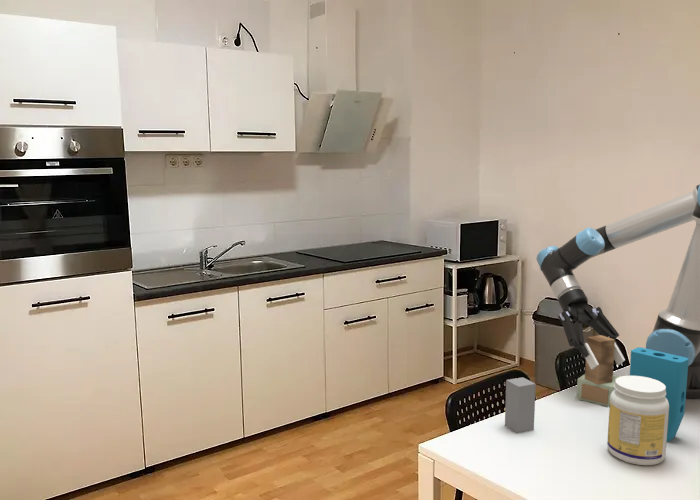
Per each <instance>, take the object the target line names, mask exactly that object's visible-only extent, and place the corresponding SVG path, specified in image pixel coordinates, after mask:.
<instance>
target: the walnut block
mask: <svg viewBox="0 0 700 500" xmlns="http://www.w3.org/2000/svg"><path fill="white" fill-rule="evenodd" d="M615 340H616V339H615ZM615 340H614V339H611V338H609V336H608V337H605V336H602V335H599V334H598V335H592V336H587V337H586V343H588V345H589V347H590V349H591V351H592V352H593V354H594V356H595V358H596V360H597V362H598V364H599V365H598V366H597V367H595V368H594V369H591V368H590V366H589V364H588V363H587V361H586V360H585V369H584V372H585V373H584V374H585V379H586V380H589V381H591V382H593V383H595V384H598V385H600V384H605V383H611V382H612V381H613V375H614V361H615V360H614V346H615Z"/></svg>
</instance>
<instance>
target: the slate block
mask: <svg viewBox="0 0 700 500" xmlns="http://www.w3.org/2000/svg"><path fill="white" fill-rule="evenodd" d="M536 386H537V384H536V383H535V382H533V381H531V380H529V379H528V378H525V377H518V378H517V377H516V378H510V379H506V381H505V411H504V414H505V415H504V426H505V427H506V428H508V429H509V430H511V431H512V432H514V433H516V434H522V433H526V432H532V431H535V414H536V413H535V411H536V409H535V408H536Z"/></svg>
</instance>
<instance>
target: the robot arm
mask: <svg viewBox="0 0 700 500" xmlns="http://www.w3.org/2000/svg"><path fill="white" fill-rule="evenodd" d="M692 221H694V222H695V227H694V230H693V232H692V235H691V239H690V241H689V245H688V247H687V250H686V253H685V256H684V259H683V261H682V265H681V267H680V270H679V273H678V275H677V276H678V277H677V278H676V282H675V286H674V288H673V291H672V294H671V296H670V299H669V302H668V305H667V308H665V309H663V310H660V311H659V313H658V315H657V318H656V321H655V324H654V327H653V329H652V332H651V333H650V334H649V336H647V339H646V341H645V348H646V349H651V350H655V351H659V352H664V353H668V354H673V355H677V356H682V357H686V358H688V359H689V360H688V373H687V387H686V399H700V183H699V184H698V185H695V187H694V189H693V190H692V191H689V192H687V193H684V194H681V195H680V196H677V197H674V198H672V199H670V200H669V199H668V200H667V201H664V202H662V203H659V204H656V205H654V206H651V207H649V208H647V209H644V210H642V211H638V212H636V213H633V214H632V215H629V216H625V217H624V218H621V219H619V220H616V221H614V222H611V223H608V224H606V225H603V226H600V227H598V228H596V229H594V228H592V227H585V228H584V229H583V230H581V231H580V232H578V233H576V235H574V237H572V238H571V239H569V240H568V241H567V242H566V243H564V244H563V245H562V246H560V247H558V246H557V245H550V246H547V247H546V248H542V250H540V251H539V252H538V253H537V255H536V262H537V264H538V267H539V270H540V271H541V272H542V274H543V276H544V278H545V279H546V282H547V283H548V284H549V287H550V288H551V291H552V293H553V294H554V296H555V298H556V299H557V302H558V304H559V306H560V307H561V309H562V312H561V313H560V314H558V315H557V317H558V319H559V321H560V322H561V325H562V327H563V330H564V333H565V336H566V338H567V342H568V345H569V346H570V347H573V348H574V349H575V350H578V351H579V353H580V354H581V356H582V357H583V358H584V359H585V362H586V361H587V363H588V364H589V366H590V368H591V369H594V368H595V367H597V366H598V365H599V364H598V362H597V360H596V358H595V356H594V354H593V352H592V351H591V349H590V347H589V345H588V343H587V342H585V339H584V338H585V336H584V329H583V324H584V325H587V326H588V327H591V328H592V330H594V331H595V332H596V333H597V334H598V335H602V336H605V337H608V338H611V339H614V340H615V346H614V361H615V364H616V365H617V366H620V365H621V364H623V363H624V362H625V361H626V359H625V357H624V354H623V353H622V351H621V347H620V346H619V344H618V342H617V341H616V339H617V338H618V337H619V336H620V333H618V331H617V329H616V328H615V327H614V326H613V325H612V323H611V321H609V320H608V318H607V317H606V316H605V314H604V312H603V311H602V310H603V309H602V308H601V306H597V307H596V308H593V307H592V306H590V304H589V300H588V297H587V295H586V294H585V291H584V289H582V286H581V285H580V283H579V281H578V279H577V278H576V276H575V274H574V272H573V271H574V270H575V269H577V268H578V267H580V266H581V265H582V264H584V263H586V262H587V261H588V260H590V259H592V258H595V257H597V256H600V255H603V254H605V253H608V252H611V251H613V250H615V249H619V248H622V247H623V246H624V247H625V246H626V245H629V244H632V243H634V242H637V241H640V240H643V239H646V238H649V237H651V236H655V235H657V234H659V233H662V232H665V231H668V230H670V229H671V230H672V229H673V228H676V227H679V226H682V225H685V224H687V223H690V222H692Z"/></svg>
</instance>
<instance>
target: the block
mask: <svg viewBox="0 0 700 500" xmlns="http://www.w3.org/2000/svg"><path fill="white" fill-rule="evenodd" d="M688 360H689V359H688V358H686V357H682V356H677V355H673V354H668V353H664V352H659V351H655V350H651V349H646V347H636V348H633V349H630V360H629V361H630V363H629V364H630V365H629V376H642V377H648V378H652V379H655V380H658V381H660V382H662V383H663V384H664V385H665V386H666V396H665V397H666V398H667V400H668V402H669V415H668V428H667V442H671V441H673V439H675V438H676V436H677V434H678V431H679V429H680V425H681V423H682V421H683V418H684V416H685V411H686V400H687V398H686V387H687V373H688ZM667 442H666V443H667Z"/></svg>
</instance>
